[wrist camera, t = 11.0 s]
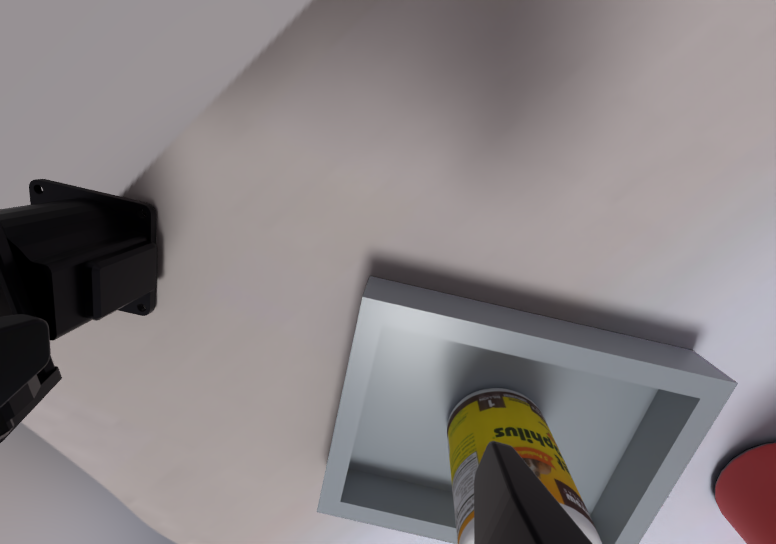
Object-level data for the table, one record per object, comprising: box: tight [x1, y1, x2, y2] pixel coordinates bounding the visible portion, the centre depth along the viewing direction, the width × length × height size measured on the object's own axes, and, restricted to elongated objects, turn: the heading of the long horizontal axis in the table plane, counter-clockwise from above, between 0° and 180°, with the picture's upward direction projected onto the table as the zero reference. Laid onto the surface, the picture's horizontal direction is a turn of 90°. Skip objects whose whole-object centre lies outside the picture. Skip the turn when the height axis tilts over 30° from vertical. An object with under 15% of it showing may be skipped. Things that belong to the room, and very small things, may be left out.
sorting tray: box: [317, 276, 738, 544], centre depth 21 cm, size 18×14×3 cm
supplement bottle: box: [447, 388, 602, 544], centre depth 17 cm, size 6×6×10 cm
